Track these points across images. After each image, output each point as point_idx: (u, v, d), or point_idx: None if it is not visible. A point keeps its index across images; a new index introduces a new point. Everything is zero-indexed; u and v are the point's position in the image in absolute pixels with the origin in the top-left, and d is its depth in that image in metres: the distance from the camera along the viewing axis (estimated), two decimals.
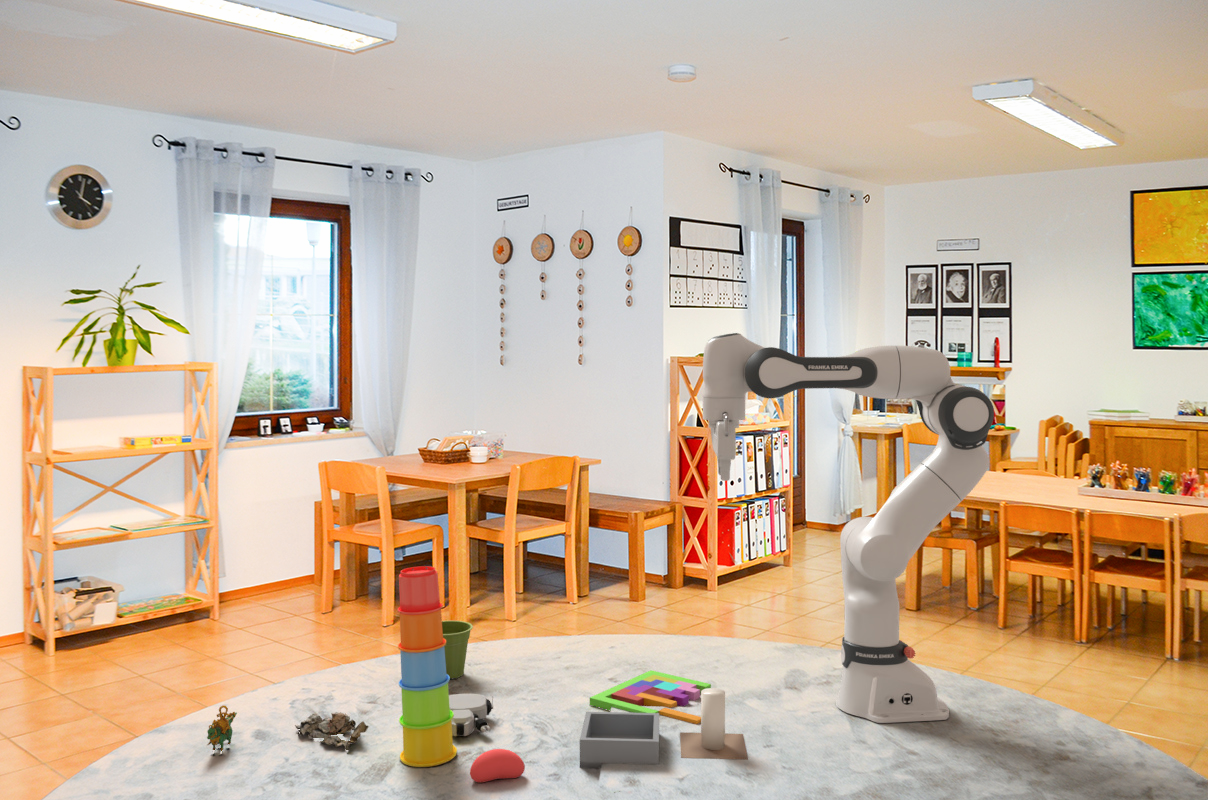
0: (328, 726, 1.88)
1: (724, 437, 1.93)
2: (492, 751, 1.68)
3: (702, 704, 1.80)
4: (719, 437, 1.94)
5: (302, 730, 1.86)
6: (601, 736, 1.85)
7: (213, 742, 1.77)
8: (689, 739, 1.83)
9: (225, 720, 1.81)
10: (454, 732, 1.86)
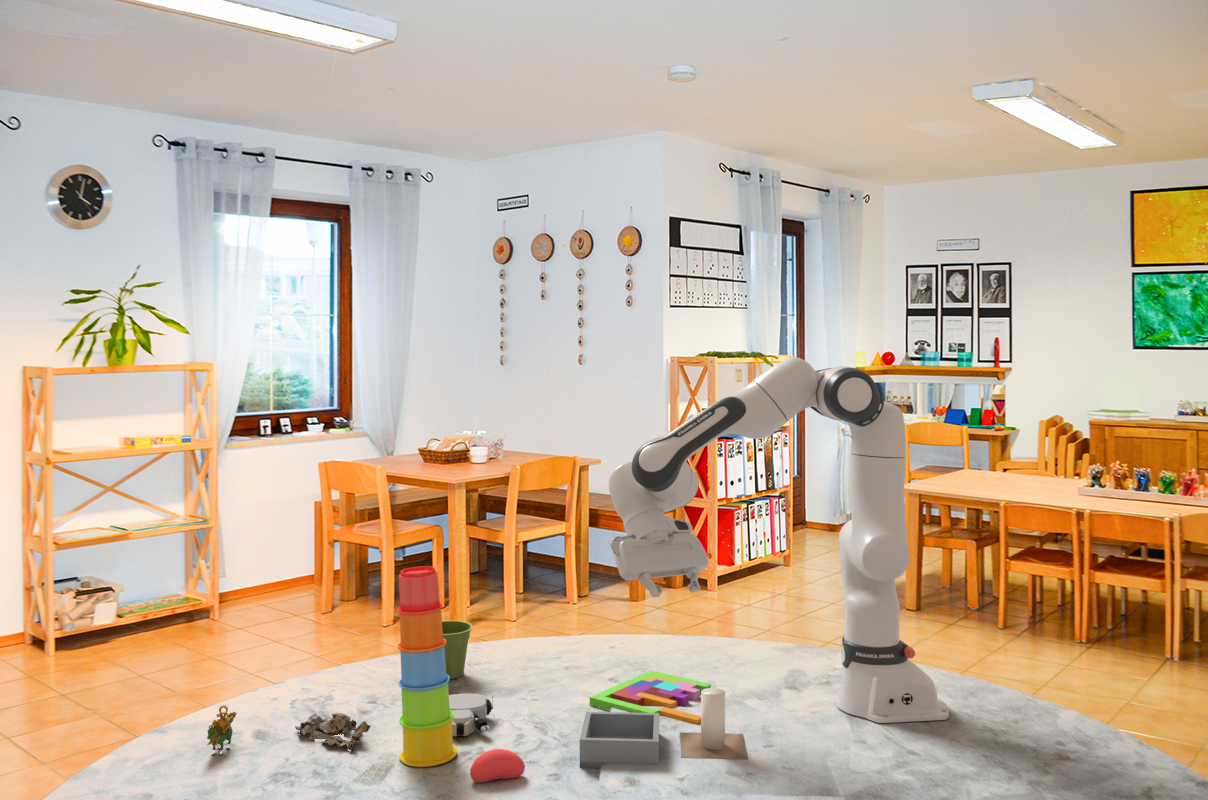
0: (329, 726, 1.87)
1: (618, 558, 1.90)
2: (492, 752, 1.68)
3: (702, 704, 1.80)
4: (616, 561, 1.91)
5: (303, 731, 1.86)
6: (601, 736, 1.85)
7: (213, 742, 1.77)
8: (689, 739, 1.83)
9: (225, 720, 1.81)
10: (454, 732, 1.86)
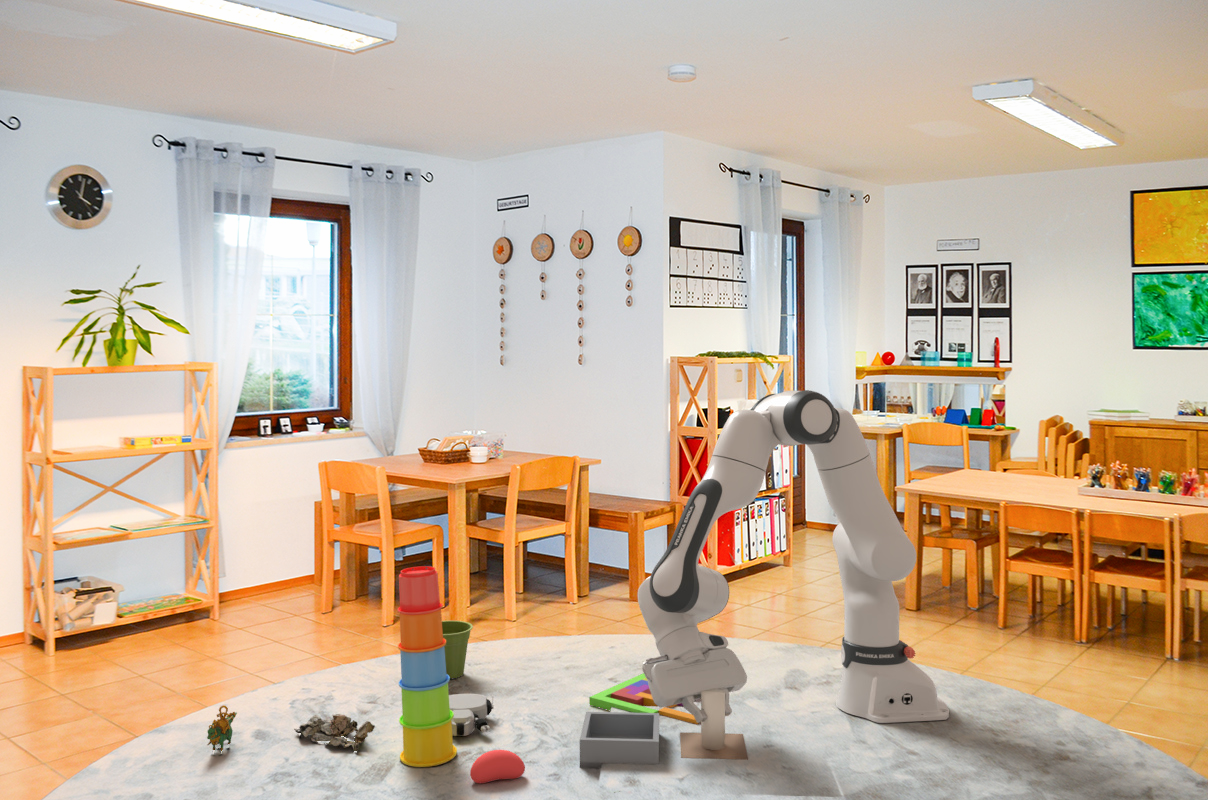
0: (330, 728, 1.86)
1: (651, 683, 1.80)
2: (492, 752, 1.68)
3: (702, 704, 1.80)
4: (649, 686, 1.81)
5: (304, 733, 1.85)
6: (601, 736, 1.85)
7: (213, 742, 1.77)
8: (689, 739, 1.83)
9: (225, 720, 1.81)
10: (454, 731, 1.86)
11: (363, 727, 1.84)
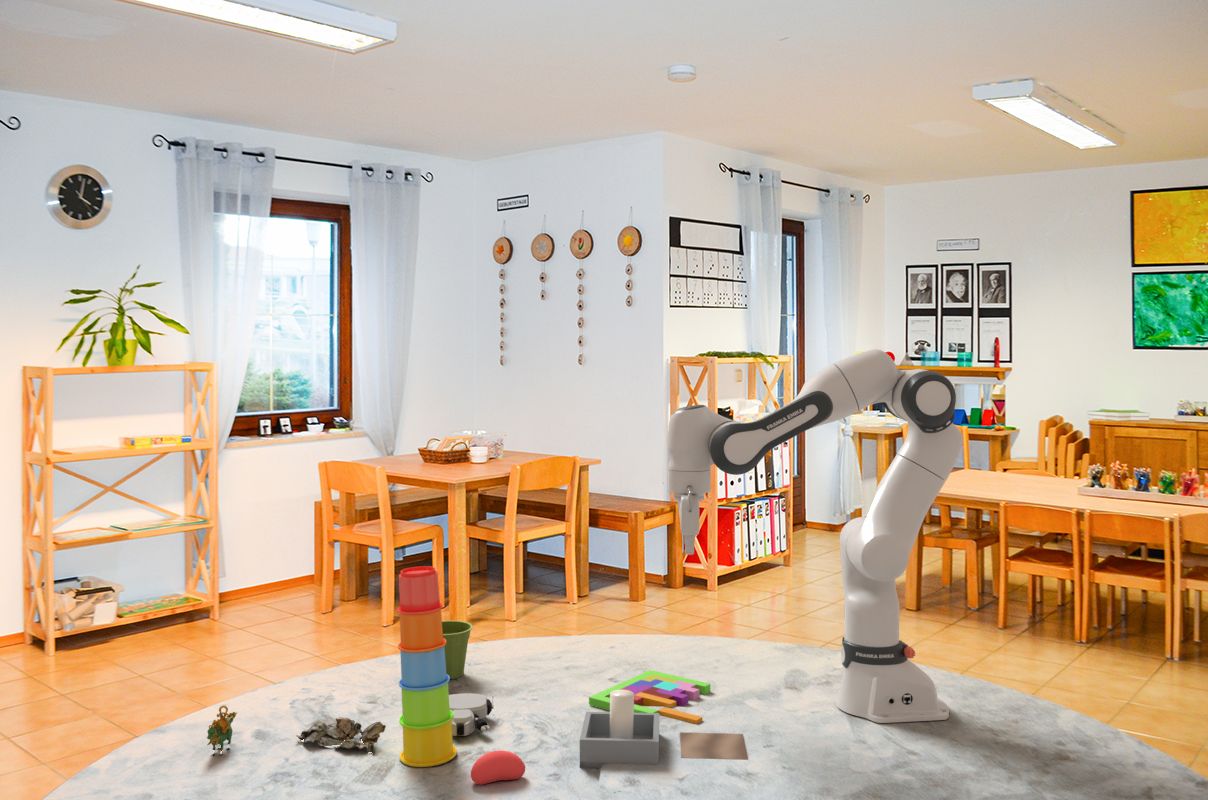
0: (336, 731, 1.85)
1: (688, 513, 1.92)
2: (492, 753, 1.68)
3: (610, 705, 1.79)
4: (683, 513, 1.93)
5: (311, 739, 1.82)
6: (601, 736, 1.85)
7: (213, 742, 1.77)
8: (689, 739, 1.83)
9: (225, 720, 1.81)
10: (454, 731, 1.86)
11: (373, 728, 1.84)
